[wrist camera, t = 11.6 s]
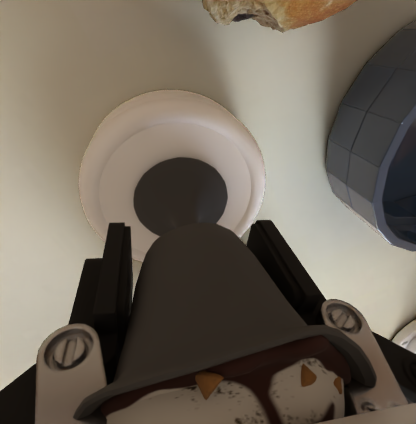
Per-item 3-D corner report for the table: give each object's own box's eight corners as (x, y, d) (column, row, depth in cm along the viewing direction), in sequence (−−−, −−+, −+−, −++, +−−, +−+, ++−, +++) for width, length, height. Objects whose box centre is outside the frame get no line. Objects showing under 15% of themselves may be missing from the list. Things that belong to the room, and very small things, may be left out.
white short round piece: (102, 241, 19) (95, 278, 16) (71, 85, 13) (51, 98, 11) (239, 230, 21) (254, 261, 18) (259, 89, 15) (286, 102, 12)
